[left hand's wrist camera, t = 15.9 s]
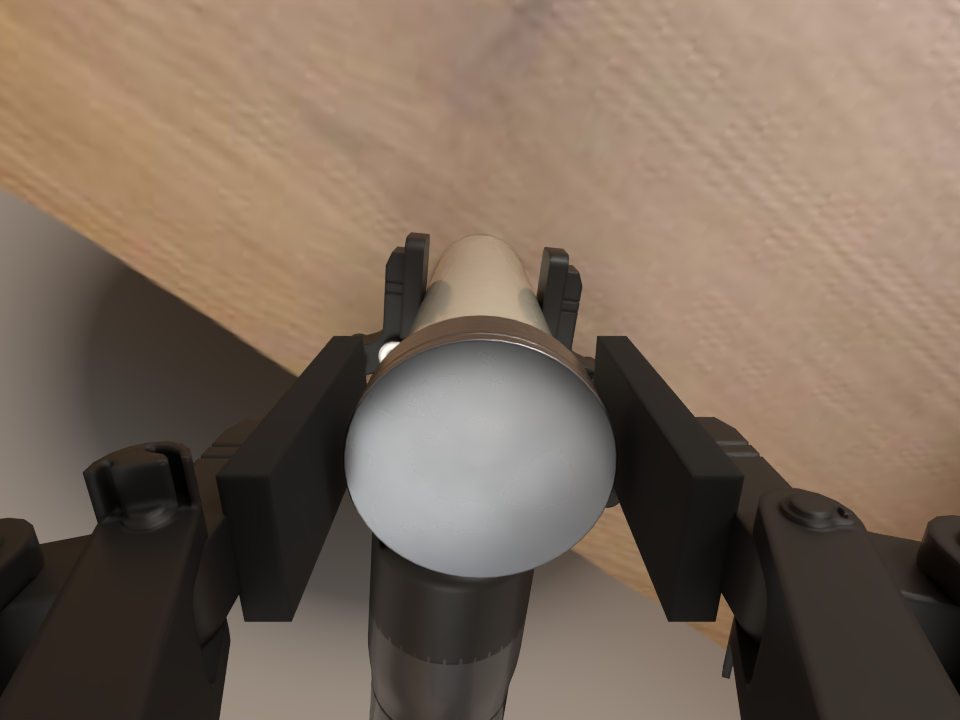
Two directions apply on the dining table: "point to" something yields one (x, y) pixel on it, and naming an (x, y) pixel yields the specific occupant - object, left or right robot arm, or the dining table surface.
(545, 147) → the dining table surface
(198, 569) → the left robot arm
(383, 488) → the lid
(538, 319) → the beige cylinder
